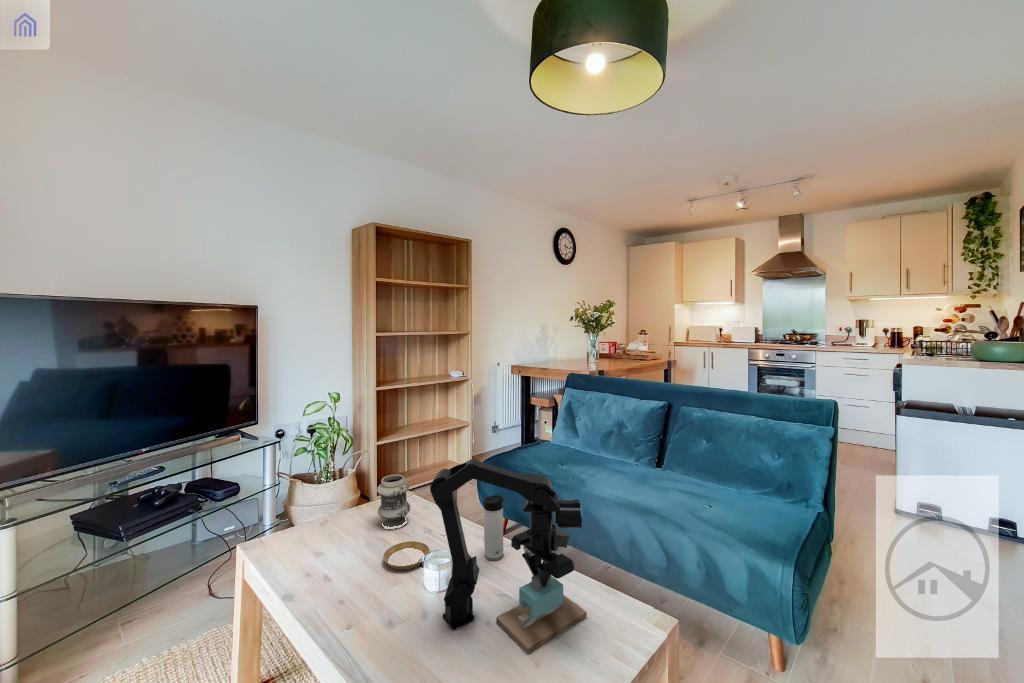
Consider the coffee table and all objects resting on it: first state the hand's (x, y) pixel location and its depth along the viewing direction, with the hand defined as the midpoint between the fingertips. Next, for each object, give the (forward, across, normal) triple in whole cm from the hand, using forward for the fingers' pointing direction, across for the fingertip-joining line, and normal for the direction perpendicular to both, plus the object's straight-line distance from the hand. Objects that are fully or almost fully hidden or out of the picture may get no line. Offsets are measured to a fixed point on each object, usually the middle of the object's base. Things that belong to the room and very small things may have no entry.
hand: (541, 584), depth 110 cm
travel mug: (+10, +32, -7) cm, 34 cm away
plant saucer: (+10, +48, +17) cm, 52 cm away
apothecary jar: (+10, +74, +11) cm, 75 cm away
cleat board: (+10, 0, 0) cm, 10 cm away
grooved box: (+6, 0, 0) cm, 6 cm away
